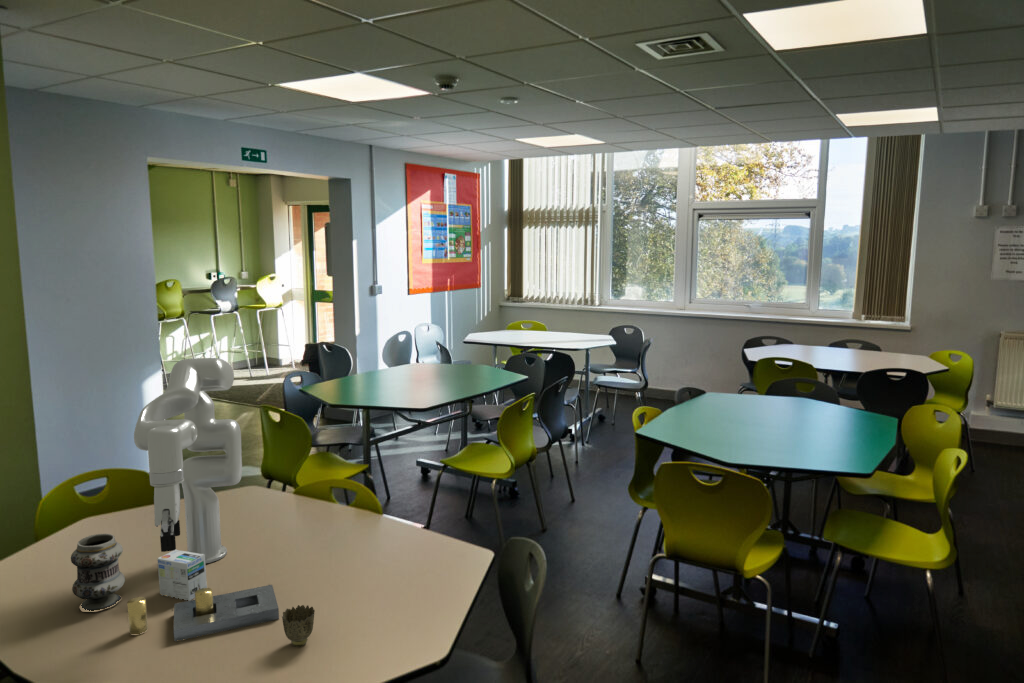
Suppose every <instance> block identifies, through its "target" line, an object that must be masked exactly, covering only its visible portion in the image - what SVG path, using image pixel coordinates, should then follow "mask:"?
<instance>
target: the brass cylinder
mask: <svg viewBox="0 0 1024 683" xmlns="http://www.w3.org/2000/svg"><path fill="white" fill-rule="evenodd" d="M126 604H127V615H128V616H127V617H128V618H127V619H128V632H130V633H131V634H140V633H142V632H145V631H146V630H147V629H148V630H149V628H148V626H149V625H148V612H147V611H148V610H147V598H146V597H144V596H137V597H133V598H131V599H129V600H128V601H127V602H126Z"/></svg>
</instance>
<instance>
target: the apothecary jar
mask: <svg viewBox="0 0 1024 683" xmlns="http://www.w3.org/2000/svg"><path fill="white" fill-rule="evenodd" d="M123 550H124V548H123V546H122V544H121V543H120V542H118V541H116V537H115V535H114V534H113V533H112V534H111V533H97V534H96V533H95V534H91V535H88V536H84V537H83V538H81V539H80V540H79V541H78V542H77V545H76V549H75V550H74V551H73V552H72V554H71V555H70V562H71V564H72V565H74V566H75V567H76V573H77V574H76V580H75V581H74V582H73V584H72V589H71V590H72V593H73V595H74V596H76V598H79V599H81V600H82V599H83V601H82V602H83V603H82V602H81V603H82V605H81V606H82V608H84V609H85V610H86V609H87V610H89V611H90V610H91V611H94V610H100V609H105V608H107V607H110V606H112V605H114V604H116V602H117V601H119V600H120V599H121V598H122V596H121V595H120V596H121V597H120V596H119V594H118V593H117V592H118V591H119V590H120V589H121V588H122V587H123V585H124V584H125V582H126V578H125V577H126V576H125V575H124V573H123V572H122V571H121V570H120V566H119V558H120V557H121V556H122V554H123ZM86 599H87V600H86Z"/></svg>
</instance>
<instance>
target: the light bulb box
mask: <svg viewBox="0 0 1024 683" xmlns="http://www.w3.org/2000/svg"><path fill="white" fill-rule="evenodd" d="M186 551H187V550H180V549H175V550H174V551H168V553H166V554H163V555H161V556H159V557H157V559H156V561H157V570H158V571H157V572H158V585H159V586H158V587H159V595H160V594H162V595H161V596H163V595H167V596H166V597H168V596H171V597H170V598H173V597H175V598H174V599H178V598H179V600H182V599H184V601H187V600H188V601H191V600H194V599H195V592H196V591H197V590H199V589H202V588H208V584H207V569H206V564H205V554H200V553H192V552H186Z"/></svg>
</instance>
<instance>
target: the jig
mask: <svg viewBox="0 0 1024 683" xmlns="http://www.w3.org/2000/svg"><path fill="white" fill-rule="evenodd" d="M173 605H174V606H173V640H174V641H176V642H178V641H177V640H181V641H184V640H183V639H185V640H189V639H188V638H190V639H193V637H194V638H198V637H197V636H199V637H203V636H202V635H204V636H208V635H212V634H216V633H217V634H218V633H221V632H225V631H226V632H227V631H231V630H236V629H239V628H244V627H248V626H254V625H257V624H262V623H263V624H264V623H267V622H271V621H276V620H280V615H279V614H280V611H279V604H278V600H277V597H276V593H275V590H274V587H273V584H267V585H263V586H258V587H252V588H248V589H243V590H237V591H233V592H229V593H228V592H226V593H221V594H217V595H213V611H214V613H213V614H208V615H203V616H199V617H196V603H195V599H192V600H190V601H187V600H185V601H182V602H177V603H174V604H173ZM207 634H208V635H207Z"/></svg>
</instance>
